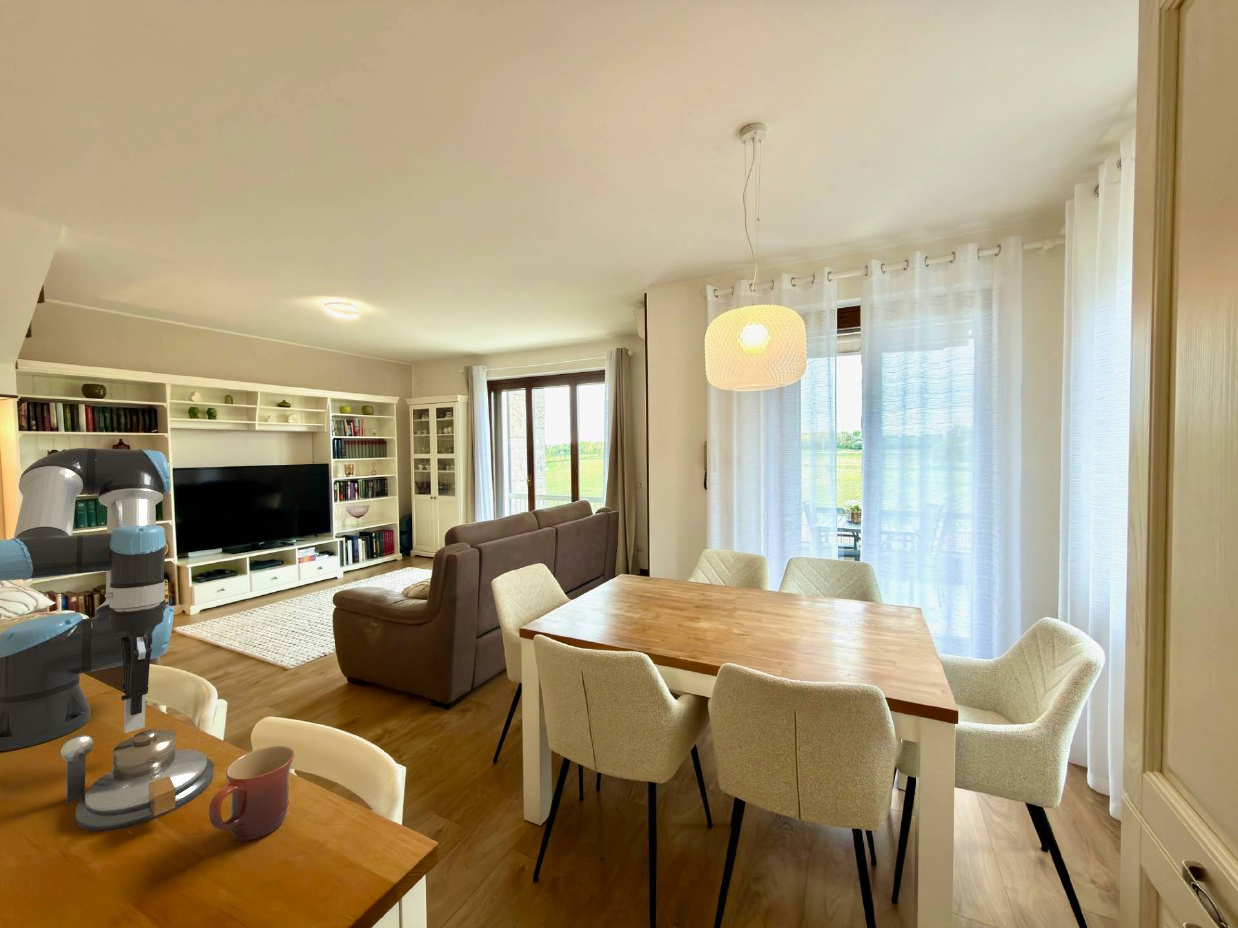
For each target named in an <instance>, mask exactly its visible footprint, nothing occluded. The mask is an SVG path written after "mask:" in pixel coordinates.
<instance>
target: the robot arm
mask: <svg viewBox="0 0 1238 928" xmlns="http://www.w3.org/2000/svg"><path fill="white" fill-rule="evenodd" d="M171 488H172V484H171V472H170V468H169V463H168V460H167V457H166V455H165V454H164V453H163V452H162V451H158V450H151V449H150V450H149V449H143V448H138V449H122V448H121V449H120V448H116V449H115V448H90V447H89V448H88V447H77V448H69V449H65V450H64V449H63V450H60V451H56V452H53V453H51V454H47V455H46V456H43V457H41V458H39V459H37V460H36V461H34V462H33V463H32V464H30V465H29V466H28V467H26V469H25V470H24V471H23V472H22V473H21V476H20V478H19V483H18V490H19V492H20V494H22V501H21V504H20V507H19V508H20V509H19V513H18V517H17V521H16V525H15V526H16V527H15V530H14V534H13V538H10V539H1V540H0V582H3V581H18V580H22V581H27V580H32V579H33V580H34V579H40V578H41V579H43V578H50V577H60V576H68V575H70V576H71V575H77V574H88V573H89V574H90V573H100V572H106V574H105V579H106V581H105V594H104V598H105V600H104V602H102V604H100V605H99V606H98V607H97V608H96V609H95V616H94V617H87V618H83V615H82V614H81V613H80V612H68V613H66V612H63V613H58V614H51V615H48V616H43V617H39V618H34V619H31V620H27V621H25V622H20V623H19V624H16V625H13V626H11V627H8V628H7V629H5V630H3V631H2V632H0V752H5V751H12V750H18V749H23V748H27V747H31V746H36V745H40V744H42V743H45V742H49V741H52V740H55V739H57V738H60V737H63V736H65V735H67V734H70V733H72V732H74V731H76V730H78V729H80V728H82V727H83V726H85V725H86V724H87V723H88V722H89V721H90V720H91V716H92V715H91V714H92V713H91V711H92V709H91V705H90V703H89V701H88V699H87V697H86V695H85V694H84V692H83V689H82V687H81V684H80V682H81V681H80V680H81V677H80V676H81V674H86V673H91V672H96V671H101V670H105V669H110V668H116V667H120V666H122V670H123V671H122V678H123V679H122V682H123V683H122V689H123V694H124V695H122V696H120V697H121V701H124V704H123V708H124V709H123V710H124V711H123V732H124V734H128V733H132V732H134V731H137V730H141V729H143V728H144V729H145V726H146V697H147V696H146V695H147V694H148V693H149V678H150V667H151V666H150V664H151V660H153V659H157V658H160V657H162V656H163V655H165V653H166V652H167V650H168V649H169V645H170V641H171V635H172V630H173V623H174V616H175V607H174V606H173V605H167V604H166V603H167V601H166V598H165V583H166V581H165V577H164V576H165V562H166V560H165V559H166V545H167V540H166V531H165V528H164V526H161V525H160V524H157V521H156V518H157V517H156V514H157V512H156V505H158V504H159V503H160V502H162V501H163V499H164V495H166V494H169V493H170V492H171ZM78 496H98V502H99V503H100V504H101V505H103V506H105V507H107V508H106V511H107V514H106V515H107V517H106V519H107V520H106V523H107V524H106V533H94V534H93V533H91V534H78V535H77V534H76V535H73V532H74V520H75V509H76V498H77V497H78ZM89 719H90V720H89Z"/></svg>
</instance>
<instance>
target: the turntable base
mask: <svg viewBox="0 0 1238 928" xmlns="http://www.w3.org/2000/svg"><path fill="white" fill-rule="evenodd" d="M214 764H215V763H214V762H213V761H212V760H211V759H210V758H208V757H207V768H206V771H205V773H204V774H203V776H202V777H201V778H200V779H199V780H198V781H197V782H195V783H194V784H193V785H191V786H190V787H189V788H187V789H185V790H184V791H182V792H180V793H178V794H177V795H176V797H175V808H173V809H171V810H168V811H166V812H163V813H161V814H158V815H156V816H154V814H153V811H152V809H151V807H150V806H148V807H145V808H142V809H138V810H135V811H130V812H126V813H120V814H112V815H97V814H93V813H90V812H88V811H87V810H86V808H85V796H84V797H83V798H82V799H80V800H79V801H78V803H77V805H76V806H75V819H74V820H75V824H76V826H77V827H78V828H79V829H82V830H84V831H90V832H107V831H116V830H120V829H126V828H129V827H133V826H136V825H140V824H143V823H146V822H150V821H152V820H155V819H157V818H160V817H162V816H165V815H166V814H169V813H172V812H173V811H175V810H177V809H180V807H182V806H184V805H186V804H188V803H189V802H190V801H192V800H194V799H196V797H198V796H199V795H200V794H201V793H203V792H204V791H205V790H206V789H207V788H208V787H209V785H210V784H211V783H212V781H213V779H214V776H215V775H214V774H215V773H214V770H215V767H214Z"/></svg>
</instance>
